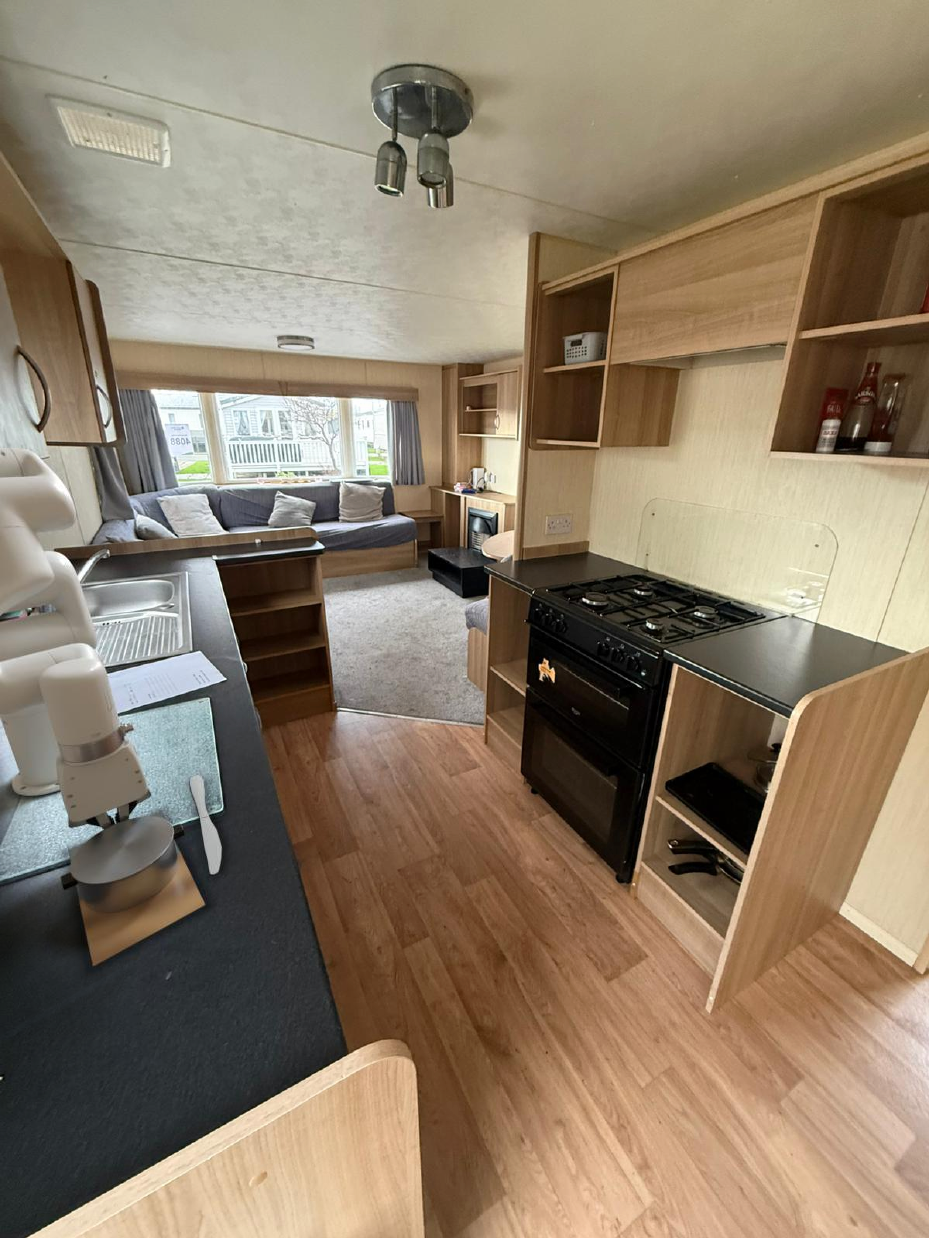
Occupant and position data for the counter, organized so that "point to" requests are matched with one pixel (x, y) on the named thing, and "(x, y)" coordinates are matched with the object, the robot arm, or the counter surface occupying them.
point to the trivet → (141, 916)
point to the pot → (125, 863)
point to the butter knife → (206, 826)
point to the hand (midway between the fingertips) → (120, 840)
